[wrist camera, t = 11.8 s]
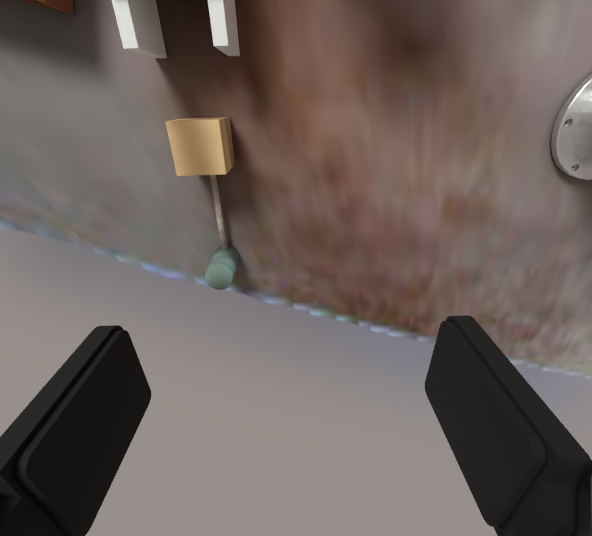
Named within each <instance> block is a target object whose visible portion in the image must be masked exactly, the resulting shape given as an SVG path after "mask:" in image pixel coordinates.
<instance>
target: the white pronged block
mask: <svg viewBox="0 0 592 536" xmlns="http://www.w3.org/2000/svg"><path fill="white" fill-rule="evenodd" d="M112 3H113V7H114V11H115V15H116V19H117V23H118V27H119V31H120V35H121V39H122V43H123V47H124V49H127V50H130V51H133V52H136V53H139V54H143V55H146V56H149V57H152V58H167V55H166V50H165V45H164V40H163V35H162V30H161V24H160V19H159V14H158V9H157V4H156V0H112ZM208 6H209V14H210V22H211V30H212V37H213V45H214V47H216V48H217V49H219V50H220V51H221V52H223V53H224V54H226V55H227V56H240V50H239V40H238V29H237V19H236V8H235V0H208Z"/></svg>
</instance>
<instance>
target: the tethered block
mask: <svg viewBox="0 0 592 536" xmlns="http://www.w3.org/2000/svg"><path fill="white" fill-rule="evenodd" d="M165 122H166V126H167V131H168V136H169V140H170V145H171V150H172V154H173V159H174V164H175V168H176V173H177V176H187V175H210V179H211V185H212V192H213V198H214V204H215V210H216V216H217V223H218V229H219V235H220V241H221V247H220V248H218V250H217V251H216V253H215V255H214V257H213V259H212V261H211V263H210V265H209V267H208V269H207V271H206V274H205V280H206V282H207V284H208V285H209V286H210V287H212V288H214V289H218V290H222V289H226V288H227V287H229V286H230V284H231V282H232V279H233V276H234V273H235V270H236V267H237V264H238V261H239V253H238V251H237V250H236V249H235V248H234V247H232V246H229V245H227V244H226V237H225V231H224V224H223V217H222V211H221V204H220V198H219V191H218V185H217V178H216V175H221V174H227V173H228V172H229V171H230V169H231V168H232V167H233V166H234V165H235V160H234V152H233V143H232V135H231V127H230V118H229V117H213V118H183V119H177V120H170V121H165Z"/></svg>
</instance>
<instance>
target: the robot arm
mask: <svg viewBox="0 0 592 536" xmlns="http://www.w3.org/2000/svg"><path fill="white" fill-rule="evenodd" d="M551 150H552V155H553V158H554V161H555V163H556V165H557V166H558V167H559V168H560V169H561V171H563V172H564V173H566V174H567V175H569V176H572V177H575V178H579V179H584V180H592V74H591V75H589V76H588V77H587V78H586V79H585V80H584V81H583V82H582V83H581V84H580V85H579V86H578V87H577V88H576V89H575V90H574V91H573V93H572V94H571V95H570V97H569V98H568V99H567V101H566V102H565V104H564V106H563V107H562V109H561V111H560V113H559V115H558V117H557V120H556V122H555V125H554V129H553V133H552V138H551ZM425 391H426V394H427V397H428V399H429V401H430V403H431V405H432V407H433V410H434V412H435V414H436V416H437V418H438V421H439V423H440V425H441V427H442V429H443V432H444V434H445V436H446V438H447V440H448V442H449V445H450V447H451V449H452V451H453V453H454V455H455V458H456V460H457V462H458V464H459V466H460V469H461V471H462V473H463V475H464V477H465V479H466V482H467V484H468V486H469V488H470V490H471V492H472V495H473V497H474V499H475V501H476V503H477V505H478V508H479V510H480V512H481V514H482V516H483V518H484V520H485V521H486V523H487V524H488V525H489V526H493V527H494V529H495V531H496V533H497V535H498V536H592V460H591V459H590V458H589V455H588V454H587V453H586V452H585V451H584V449H583V448H582V447H581V446H580V445H579V443H578V442H577V441H576V440H575V439H574V438H573V436H572V435H571V434H570V433H569V431H568V430H567V429H566V428H565V427H564V425H563V424H562V423H561V422H560V421H559V420H558V418H557V417H556V416H555V415H554V414H553V412H552V411H551V410H550V409H549V408H548V406H547V405H546V404H545V403H544V402H543V400H542V399H541V398H540V397H539V396H538V395H537V393H536V392H535V391H534V390H533V388H532V387H531V386H530V385H529V384H528V383H527V381H526V380H525V379H524V378H523V377H522V375H521V374H520V373H519V372H518V371H517V369H516V368H515V367H514V366H513V365H512V363H511V362H510V361H509V360H508V359H507V357H506V356H505V355H504V354H503V353H502V352H501V350H500V349H499V348H498V347H497V346H496V344H495V343H494V342H493V341H492V340H491V338H490V337H489V336H488V335H487V334H486V332H485V331H484V330H483V329H482V328H481V326H480V325H479V324H478V323H477V322H476V321H475V319H474V318H473V317H472V316H449V317H448V318H447V319H446V321H443V322H442V323H441V325H440V328H439V332H438V336H437V340H436V343H435V347H434V351H433V355H432V359H431V362H430V366H429V370H428V373H427V377H426V381H425ZM150 399H151V390H150V387H149V385H148V382H147V379H146V377H145V375H144V372H143V369H142V367H141V364H140V361H139V359H138V356H137V354H136V351H135V348H134V346H133V343H132V341H131V338H130V336H129V333H128V332H127V331H126V330H123V328H122V327H121V326H98V327H96V328H95V329H94V330H93V331H92V332H91V333H90V334H89V335H88V337H87V338H86V339H85V340H84V341H83V342H82V344H81V345H80V346H79V347H78V348H77V349H76V350H75V352H74V353H73V354H72V355H71V356H70V357H69V358H68V360H67V361H66V362H65V363H64V364H63V365H62V367H61V368H60V369H59V370H58V371H57V372H56V374H55V375H54V376H53V377H52V378H51V379H50V380H49V381H48V383H47V384H46V385H45V386H44V387H43V388H42V390H41V391H40V392H39V393H38V394H37V395H36V397H35V398H34V399H33V400H32V401H31V402H30V403H29V405H28V406H27V407H26V408H25V409H24V410H23V412H22V413H21V414H20V415H19V416H18V417H17V419H16V420H15V421H14V422H13V423H12V424H11V425H10V426H9V428H8V429H7V430H6V431H5V432H4V434H3V435H2V436H1V437H0V536H85V535H86V534H87V532H88V531H89V529H90V528H91V526H92V524H93V522H94V519H95V517H96V515H97V513H98V511H99V509H100V507H101V505H102V502H103V500H104V498H105V496H106V494H107V492H108V490H109V488H110V486H111V483H112V481H113V479H114V477H115V475H116V473H117V471H118V469H119V466H120V464H121V462H122V460H123V458H124V455H125V453H126V452H127V449H128V447H129V445H130V443H131V441H132V439H133V437H134V435H135V433H136V430H137V428H138V426H139V424H140V422H141V420H142V418H143V416H144V413H145V411H146V409H147V407H148V405H149V403H150Z"/></svg>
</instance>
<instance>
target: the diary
mask: <svg viewBox="0 0 592 536" xmlns="http://www.w3.org/2000/svg"><path fill="white" fill-rule="evenodd" d="M23 1H26V2H30V3H34V4H37V5H41V6H44V7H48V8H52V9H55V10H59V11H62V12H66V13H69V14H74V11H73V0H23Z"/></svg>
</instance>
